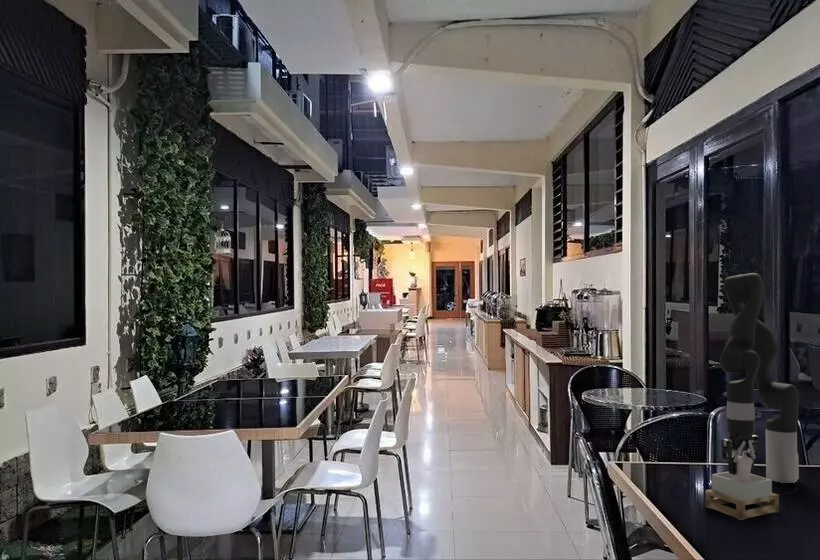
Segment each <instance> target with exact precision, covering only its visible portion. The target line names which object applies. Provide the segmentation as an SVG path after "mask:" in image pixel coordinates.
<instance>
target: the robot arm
mask: <svg viewBox="0 0 820 560" xmlns="http://www.w3.org/2000/svg"><path fill="white" fill-rule="evenodd" d="M723 287H724V293H725V295H726V298H727V300H728V303H729V306H730V308H731V310H732V312H733V314H734V318H733V319H732V321H731V323H730V326H729V334H728V340H727V343H726V345H725V347H724V349H722V352H721V354H720V358H719V367H720V368H721V369H722V370H723V372H725V373H730V374H746V375H745V377H744V378H743V379H739V380H733V381H731V380H730V381H729V382H728V383H727V386H726V394H727V395H726V396H727V397H726V399H727V401H726V402H727V403H726V432H728V434H729V437H728V438H727V439H726V438H722V439H721V441H720V442H721V443H720V444H721V459H723V460H726V461H727V462H728V463H727V464H728V467H727V468H728V469H727V470H728V471H729V473H730V474H733V475H736V474H737V462H736V461H737V458H738V456H739V455H740V456H741V455H742V452H743V451H744V456H746V457H750V458H752V459H753V463H752V465H751V472H750V473H753V472H754V471H755V459H756V457H760V453H761V450H760V448H761V436H759V435H757V434H756V407H755V403H754V401H755V398H754V396H755V395H754V394H755V393H754V392H755V391H754V390H755V389H754V388H755V384H756V389H757V393H758V397H759V400H760V402H761V404H762V405H763V406H764V407H765V408H767V409H771V410H777V411H780V415H779V416H778V417H775V418H770V419H767V420H766V421H765V467H766V468H765V470H766V471H765V474H766V475H765V476H766V477H765V478H767V479H771V480H772V482H773V481H775V482H774V483H777V482H780V483H779V484H784V483H794V484H796V483H795V482H797V483H798V481H797V480H798V479H799V480H800V473H799V471H800V468H799V467H800V465H799V464H800V463H799V455H800V454H799V452H798V430H797V429H798V423H799V407H800V406H799V405H800V395H799V394H800V393H799V391H798V388H797V387H796V386H795V385H794V384H789V383H783V382H775V381H773V377H772V375H771V374H772V373H771V368H772V365H773V364H774V362H775V359H776V358H777V355H778V346H777V345H778V344H777V343H776V340H775V339H776V338H775V336H774V333H773V331H772V330H771V329H770V328H769V326H767V325H766V324H765V323H764V322H762V321H761V320H760V319H758V317H759V314H760V311H761V308H762V304H763V300H764V297H765V285H764V281H763V278H762V277H761V275H760V274H758V273H756V272H751V273H745V274H744V273H742V274H737V275H733V276H727V277H726V278H724V282H723ZM745 303H746V304H745ZM732 455H734V456H733V457H732ZM728 471H727V472H728Z"/></svg>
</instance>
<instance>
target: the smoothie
mask: <svg viewBox="0 0 820 560" xmlns="http://www.w3.org/2000/svg"><path fill="white" fill-rule="evenodd" d="M733 456H734V454H732V457H733ZM736 462H737V474H736V475H733V474H732V480H734V481H737V482H741V483H744V484H747V483H749V478H750V474H751V473H752V472H751V465H752V463H753V459H752V458H750V457H746V456H745V453H744V451H743V452H741V454H740V455H739V456H738V458H737V461H736Z"/></svg>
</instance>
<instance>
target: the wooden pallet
mask: <svg viewBox="0 0 820 560" xmlns="http://www.w3.org/2000/svg"><path fill="white" fill-rule="evenodd" d="M779 496H780V494H778V493H774V492H772V496H767V497H762V498H757V499H752V500H748V501H744V500H741V499H739V498H736V497H733V496H730V495H727V494H724V493H721V492H718V491H715V490H712V488H711V489H710V488H709V489H706V490H705V498H704V499H705V508H708V509H712V510H714V511H717V512H720V513H723V514H725V515H727V516H731V517H733V518H736V519H737V520H740V521H744V520H746V519H749V518H754V517H759V516H763V515H767V514H773V513H774V514H775V513H779V512H780V503H779V499H780V497H779ZM729 503H732V504H734V505H735V508H733V507H730V506H728V505H725V504H729ZM752 504H753V505H757V506H759V507H754V508H753V507H752V508H748V509H746V506H747V505H752Z"/></svg>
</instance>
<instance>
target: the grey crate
mask: <svg viewBox="0 0 820 560" xmlns="http://www.w3.org/2000/svg"><path fill="white" fill-rule="evenodd" d="M711 489H712V490H715V491H718V492H721V493H724V494H727V495H730V496H733V497H736V498H739V499H741V500H744V501H748V500H752V499H757V498H762V497H767V496H772V493H773V481H772V480H771V479H767V478H766V477H763V476H760V475H756V474H753V473H750V478H749V483H747V484H744V483H741V482H737V481H734V480H732V474H730V473H729V471H724V472H717V473H712V474H711Z"/></svg>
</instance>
